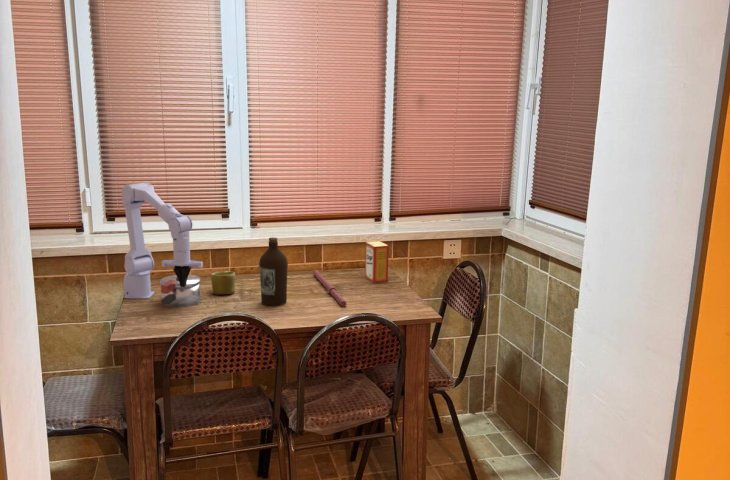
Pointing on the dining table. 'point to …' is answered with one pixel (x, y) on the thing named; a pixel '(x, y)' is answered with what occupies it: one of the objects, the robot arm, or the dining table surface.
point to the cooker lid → (177, 283)
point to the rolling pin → (330, 288)
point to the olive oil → (273, 275)
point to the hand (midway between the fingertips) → (183, 286)
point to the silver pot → (182, 297)
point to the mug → (223, 282)
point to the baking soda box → (376, 261)
